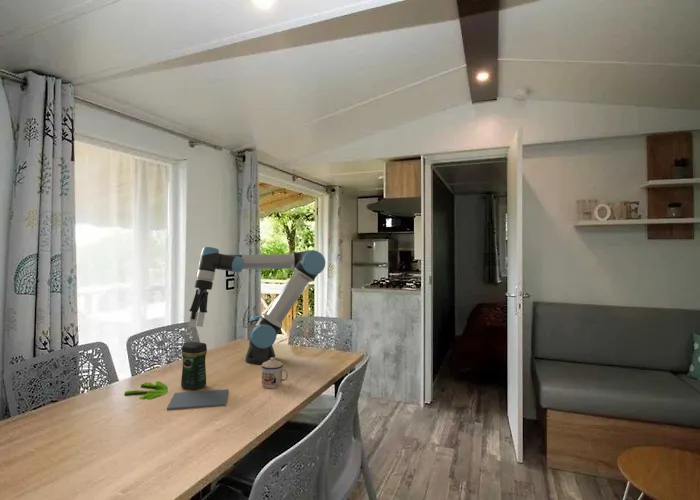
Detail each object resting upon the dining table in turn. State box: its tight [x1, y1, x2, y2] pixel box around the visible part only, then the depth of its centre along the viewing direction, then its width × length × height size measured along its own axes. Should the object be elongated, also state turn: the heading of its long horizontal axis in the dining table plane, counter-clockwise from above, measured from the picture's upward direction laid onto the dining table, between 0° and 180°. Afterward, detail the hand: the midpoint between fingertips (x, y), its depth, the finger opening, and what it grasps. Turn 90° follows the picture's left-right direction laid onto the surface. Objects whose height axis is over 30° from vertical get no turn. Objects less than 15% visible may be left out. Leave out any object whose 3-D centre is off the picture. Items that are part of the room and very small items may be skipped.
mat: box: [166, 389, 229, 411], centre depth 147 cm, size 20×15×1 cm
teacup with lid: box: [261, 357, 289, 389], centre depth 164 cm, size 12×9×12 cm
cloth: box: [124, 380, 169, 401], centre depth 156 cm, size 20×22×2 cm
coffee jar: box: [180, 340, 208, 390], centre depth 161 cm, size 10×8×19 cm
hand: (195, 326), depth 175 cm, fingers open, 13 cm apart
